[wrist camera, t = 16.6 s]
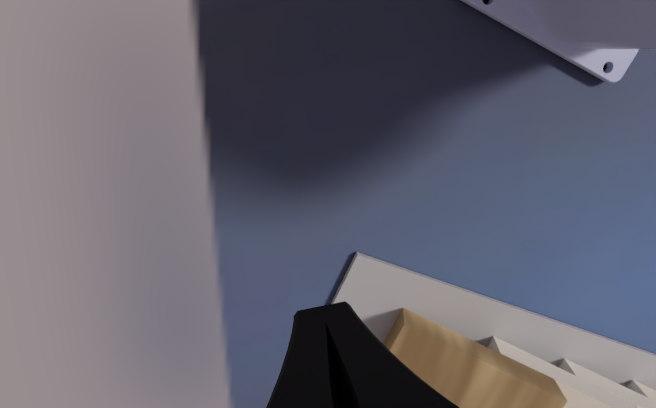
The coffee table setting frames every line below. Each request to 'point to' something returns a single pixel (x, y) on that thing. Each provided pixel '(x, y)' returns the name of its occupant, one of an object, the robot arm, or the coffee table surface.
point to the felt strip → (484, 320)
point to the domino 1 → (563, 380)
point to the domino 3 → (642, 389)
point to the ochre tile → (468, 368)
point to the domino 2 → (607, 384)
